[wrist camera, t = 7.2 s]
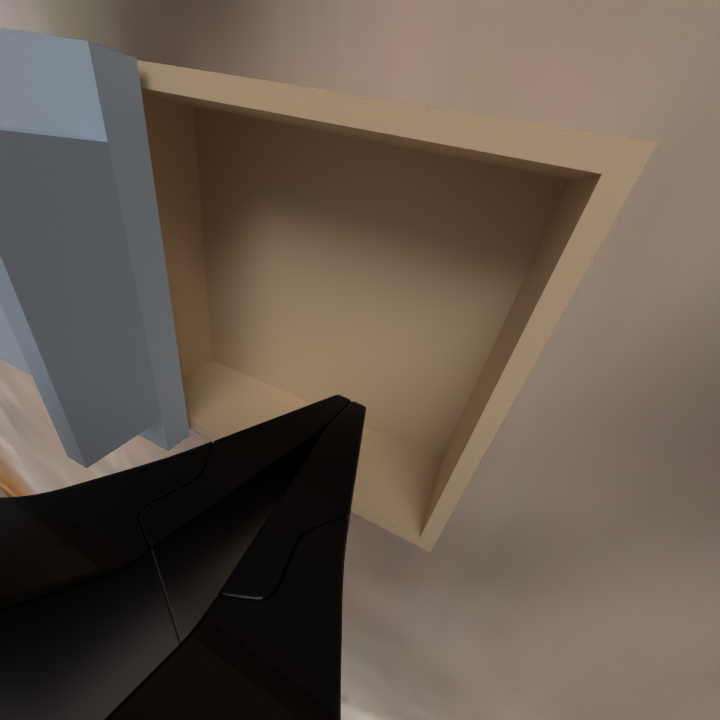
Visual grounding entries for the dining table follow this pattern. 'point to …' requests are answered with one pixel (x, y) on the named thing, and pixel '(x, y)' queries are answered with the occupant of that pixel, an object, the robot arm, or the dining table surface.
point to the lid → (84, 247)
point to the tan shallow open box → (371, 266)
